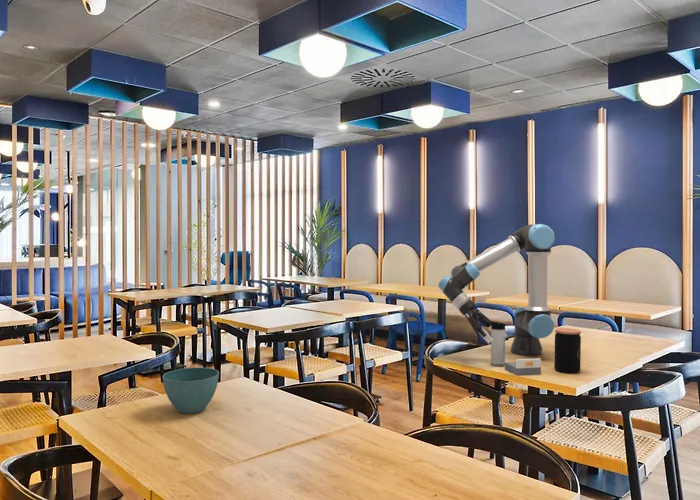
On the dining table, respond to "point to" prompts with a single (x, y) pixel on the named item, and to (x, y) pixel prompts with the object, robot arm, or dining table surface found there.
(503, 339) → the travel mug
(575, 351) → the coffee jar
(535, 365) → the display riser
